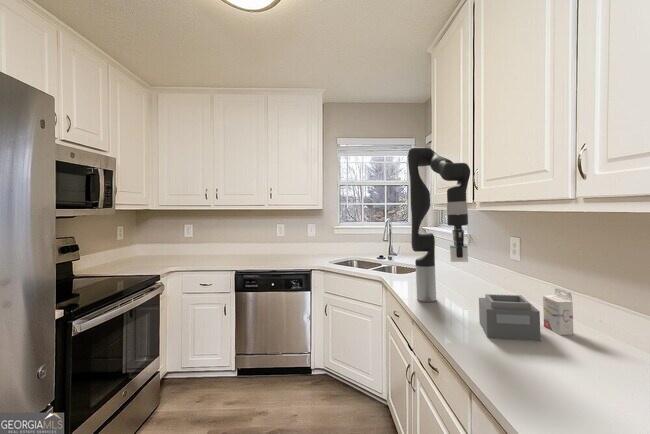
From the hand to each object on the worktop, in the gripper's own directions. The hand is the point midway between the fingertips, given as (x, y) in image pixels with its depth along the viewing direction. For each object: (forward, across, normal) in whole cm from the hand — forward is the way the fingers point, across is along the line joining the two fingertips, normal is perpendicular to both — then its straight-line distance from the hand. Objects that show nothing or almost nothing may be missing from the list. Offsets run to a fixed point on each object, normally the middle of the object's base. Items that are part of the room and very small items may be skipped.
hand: (459, 256), depth 123 cm
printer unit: (+26, +7, +14) cm, 31 cm away
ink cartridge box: (+27, +3, +31) cm, 41 cm away
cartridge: (+2, 0, 0) cm, 2 cm away
